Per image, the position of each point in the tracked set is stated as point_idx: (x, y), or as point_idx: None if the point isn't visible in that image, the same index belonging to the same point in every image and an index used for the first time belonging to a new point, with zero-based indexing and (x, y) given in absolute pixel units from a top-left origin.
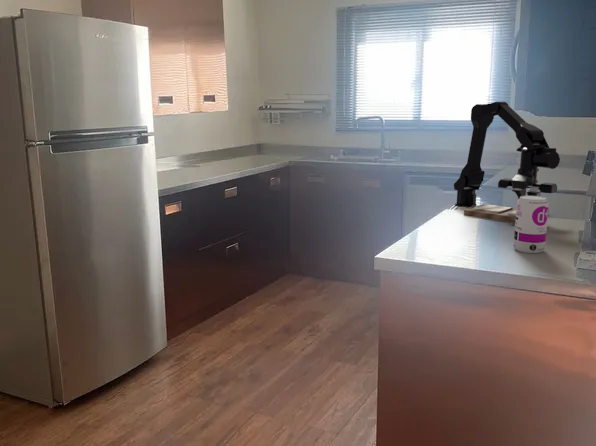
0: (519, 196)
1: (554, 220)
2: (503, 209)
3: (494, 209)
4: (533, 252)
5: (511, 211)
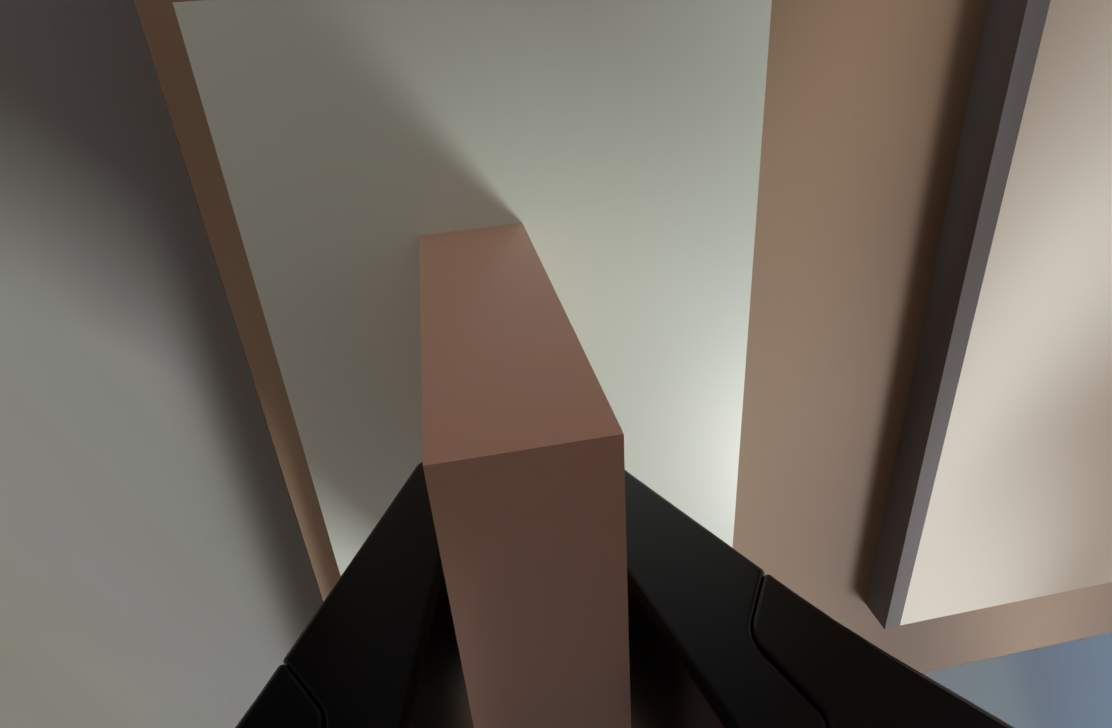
0: (855, 722)
1: (97, 688)
2: (1003, 351)
3: None
4: None
5: (821, 434)
